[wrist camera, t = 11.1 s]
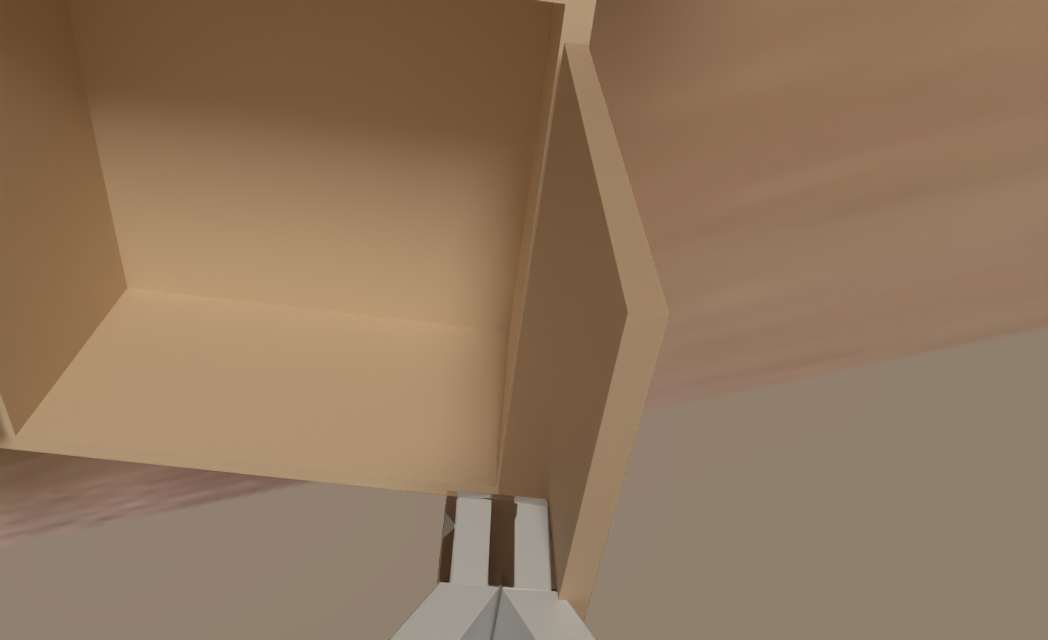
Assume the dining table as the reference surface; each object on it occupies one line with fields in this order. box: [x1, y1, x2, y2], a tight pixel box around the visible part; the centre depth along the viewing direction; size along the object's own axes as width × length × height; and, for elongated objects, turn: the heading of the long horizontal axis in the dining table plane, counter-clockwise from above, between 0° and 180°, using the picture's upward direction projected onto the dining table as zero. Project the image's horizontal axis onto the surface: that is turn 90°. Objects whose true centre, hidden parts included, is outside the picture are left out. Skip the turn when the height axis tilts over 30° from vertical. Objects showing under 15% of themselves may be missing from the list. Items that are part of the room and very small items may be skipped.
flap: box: [499, 43, 670, 622], centre depth 14 cm, size 8×11×1 cm
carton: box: [0, 0, 597, 495], centre depth 20 cm, size 13×13×7 cm
